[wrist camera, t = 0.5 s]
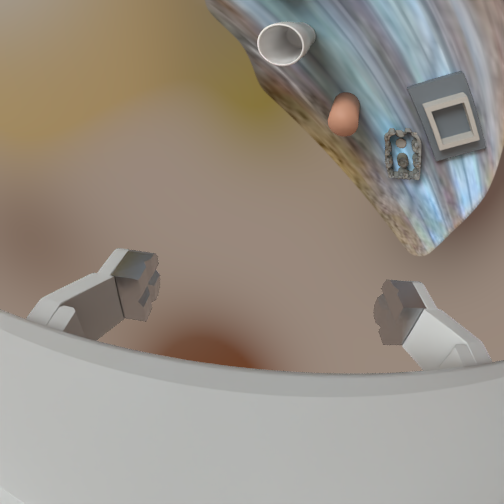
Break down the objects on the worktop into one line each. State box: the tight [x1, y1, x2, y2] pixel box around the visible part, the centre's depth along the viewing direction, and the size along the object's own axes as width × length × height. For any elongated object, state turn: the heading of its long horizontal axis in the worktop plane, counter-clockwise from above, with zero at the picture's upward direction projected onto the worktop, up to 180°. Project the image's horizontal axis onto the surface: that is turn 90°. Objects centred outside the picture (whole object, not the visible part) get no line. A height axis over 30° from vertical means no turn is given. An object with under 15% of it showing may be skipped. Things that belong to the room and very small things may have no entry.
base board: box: [407, 71, 486, 161], centre depth 40 cm, size 12×16×4 cm
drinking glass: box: [257, 22, 316, 66], centre depth 36 cm, size 7×7×15 cm
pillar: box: [328, 92, 360, 136], centre depth 46 cm, size 5×5×10 cm
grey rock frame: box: [384, 128, 421, 180], centre depth 50 cm, size 11×8×4 cm
